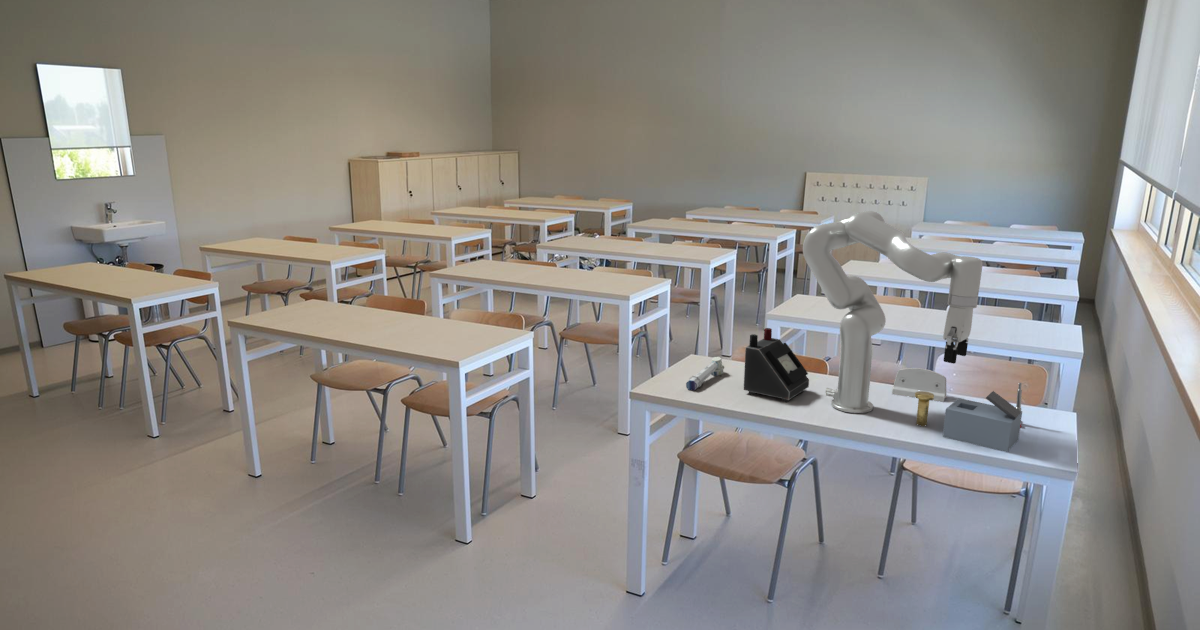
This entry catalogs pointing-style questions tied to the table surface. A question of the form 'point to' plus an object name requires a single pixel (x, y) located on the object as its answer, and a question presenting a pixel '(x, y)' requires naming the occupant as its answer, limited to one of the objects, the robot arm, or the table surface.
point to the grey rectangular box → (981, 425)
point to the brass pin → (923, 406)
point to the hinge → (920, 383)
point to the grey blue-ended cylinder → (706, 373)
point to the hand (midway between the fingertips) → (954, 358)
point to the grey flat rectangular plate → (1003, 405)
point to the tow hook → (1019, 398)
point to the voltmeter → (773, 368)
